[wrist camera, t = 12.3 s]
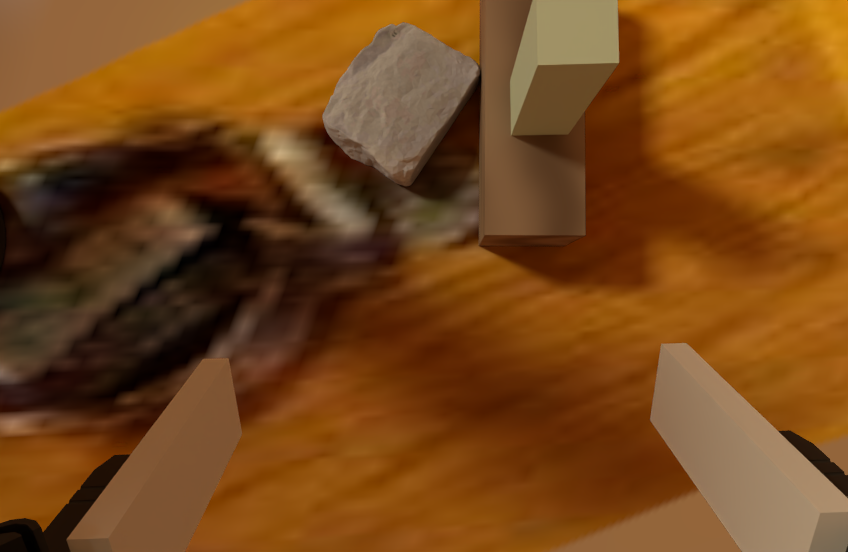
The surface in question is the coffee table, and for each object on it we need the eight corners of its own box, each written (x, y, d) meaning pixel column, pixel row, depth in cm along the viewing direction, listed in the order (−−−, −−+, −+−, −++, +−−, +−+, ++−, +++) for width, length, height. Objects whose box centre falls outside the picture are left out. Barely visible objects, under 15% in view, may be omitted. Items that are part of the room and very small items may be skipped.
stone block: (324, 146, 47) (415, 199, 44) (302, 120, 42) (402, 178, 40) (397, 38, 47) (491, 84, 45) (383, 1, 43) (486, 50, 40)
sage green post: (511, 135, 37) (537, 65, 26) (510, 80, 37) (536, -13, 26) (568, 134, 37) (619, 62, 26) (566, 78, 37) (617, -16, 26)
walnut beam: (478, 245, 44) (484, 235, 37) (480, -10, 45) (486, -68, 38) (563, 246, 43) (585, 235, 36) (562, -11, 45) (584, -70, 38)
